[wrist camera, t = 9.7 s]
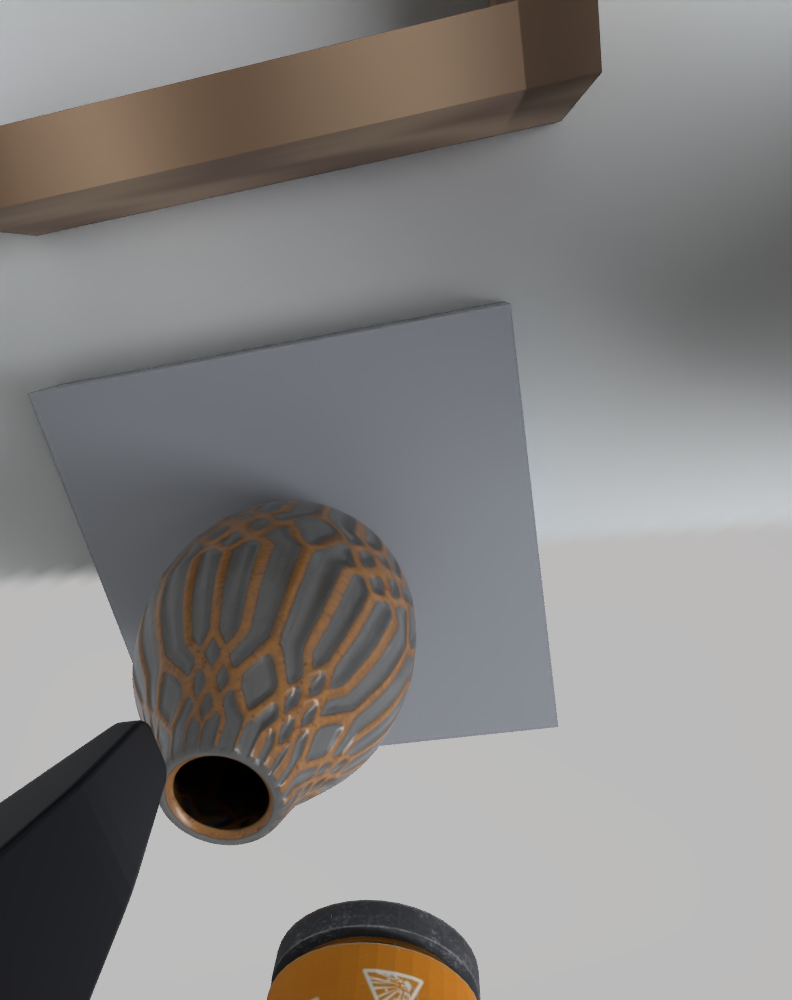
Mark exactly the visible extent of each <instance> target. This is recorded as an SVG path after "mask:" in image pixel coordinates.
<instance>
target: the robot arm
mask: <svg viewBox="0 0 792 1000" xmlns="http://www.w3.org/2000/svg"><path fill="white" fill-rule="evenodd" d="M166 775H167V771H166V764H165V761H164V759H163V756H162V754H161V751H160V749H159V746H158V744H157V741H156V739H155V737H154V734H153V732H152V729H151V727H150V725H149V724H148V723H146V722H145V721H141V720H139V721H130V722H122V723H117V724H115V725H113V726H112V727H110V728H109V729H107V730H106V731H104V732H103V733H101V734H100V735H98V736H97V737H96V738H94V739H93V740H91V741H90V742H88V743H87V744H85V745H84V746H82V747H81V748H79V749H78V750H76V751H75V752H74V753H72V754H71V755H69V756H68V757H66V758H65V759H63V760H62V761H60V762H59V763H57V764H56V765H55V766H53V767H52V768H50V769H49V770H47V771H46V772H44V773H43V774H42V775H40V776H39V777H37V778H36V779H34V780H33V781H32V782H30V783H28V784H27V785H26V786H24V787H23V788H21V789H20V790H18V791H17V792H15V793H14V794H12V795H11V796H9V797H8V798H7V799H5V800H4V801H2V802H1V803H0V1000H90V998H91V995H92V993H93V990H94V988H95V985H96V983H97V980H98V978H99V975H100V973H101V970H102V968H103V965H104V963H105V960H106V958H107V955H108V953H109V950H110V948H111V945H112V942H113V940H114V938H115V935H116V933H117V930H118V928H119V925H120V923H121V920H122V918H123V915H124V913H125V910H126V907H127V904H128V902H129V899H130V897H131V894H132V891H133V888H134V885H135V882H136V879H137V876H138V873H139V870H140V866H141V863H142V860H143V856H144V852H145V850H146V846H147V843H148V839H149V836H150V833H151V829H152V826H153V823H154V819H155V816H156V813H157V809H158V806H159V803H160V799H161V796H162V793H163V789H164V786H165V782H166Z"/></svg>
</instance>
